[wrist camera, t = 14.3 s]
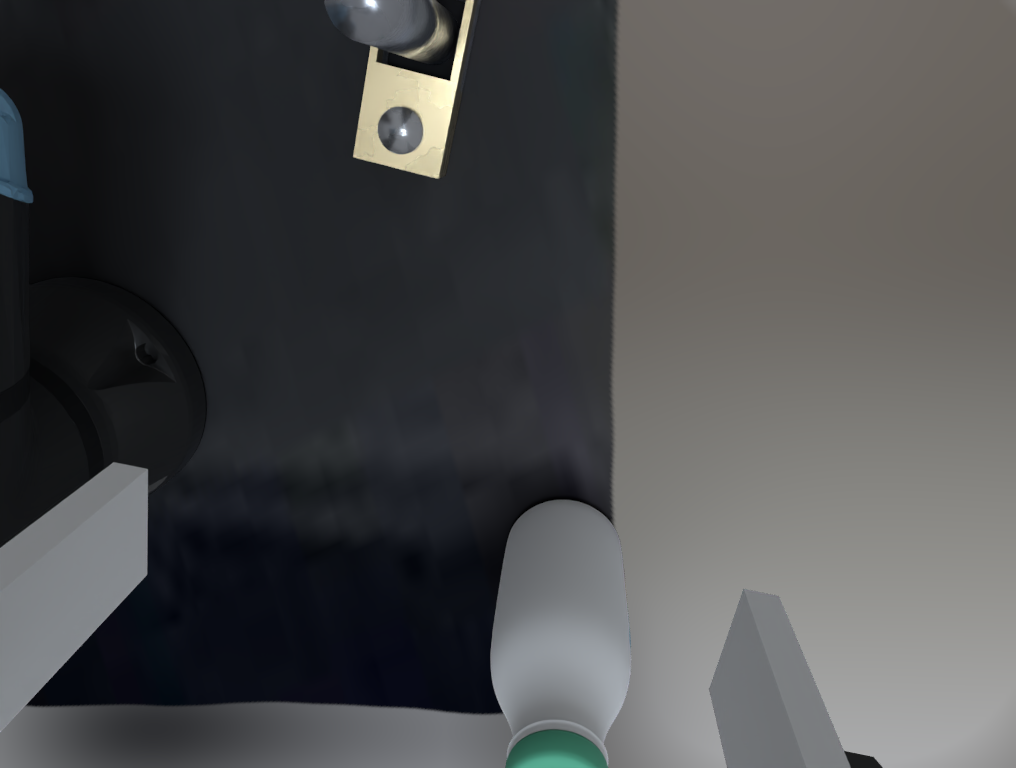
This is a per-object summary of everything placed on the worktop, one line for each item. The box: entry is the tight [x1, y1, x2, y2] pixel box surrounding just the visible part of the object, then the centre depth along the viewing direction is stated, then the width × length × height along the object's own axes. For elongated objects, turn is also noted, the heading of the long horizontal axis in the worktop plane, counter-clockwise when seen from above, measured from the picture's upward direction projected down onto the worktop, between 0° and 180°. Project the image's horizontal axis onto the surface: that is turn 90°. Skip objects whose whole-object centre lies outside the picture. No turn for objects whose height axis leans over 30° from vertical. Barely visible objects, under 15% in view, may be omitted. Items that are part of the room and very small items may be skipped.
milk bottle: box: [491, 500, 631, 768], centre depth 42 cm, size 8×8×20 cm
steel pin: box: [324, 0, 460, 65], centre depth 34 cm, size 3×3×14 cm
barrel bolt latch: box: [353, 0, 481, 179], centre depth 39 cm, size 5×14×3 cm, turn 167°
